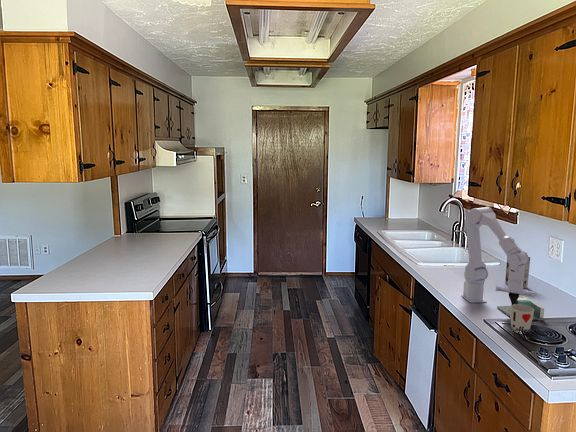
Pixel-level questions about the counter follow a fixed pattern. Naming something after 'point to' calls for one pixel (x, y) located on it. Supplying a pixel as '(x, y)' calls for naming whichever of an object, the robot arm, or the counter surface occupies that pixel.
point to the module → (523, 301)
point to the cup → (521, 317)
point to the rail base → (537, 308)
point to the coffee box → (526, 273)
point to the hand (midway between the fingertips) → (512, 309)
